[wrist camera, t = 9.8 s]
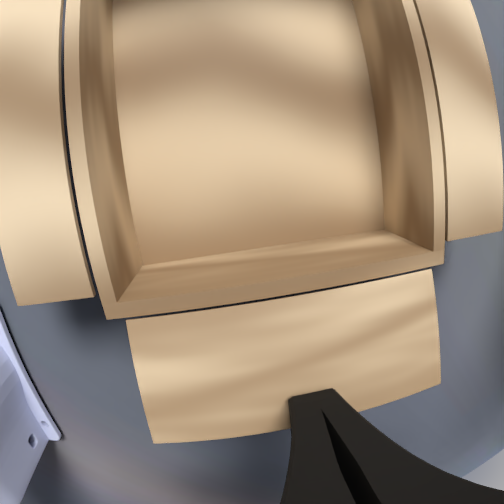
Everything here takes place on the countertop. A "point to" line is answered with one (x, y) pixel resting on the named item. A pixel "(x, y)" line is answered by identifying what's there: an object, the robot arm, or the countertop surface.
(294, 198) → the carton
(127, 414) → the countertop surface
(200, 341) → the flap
